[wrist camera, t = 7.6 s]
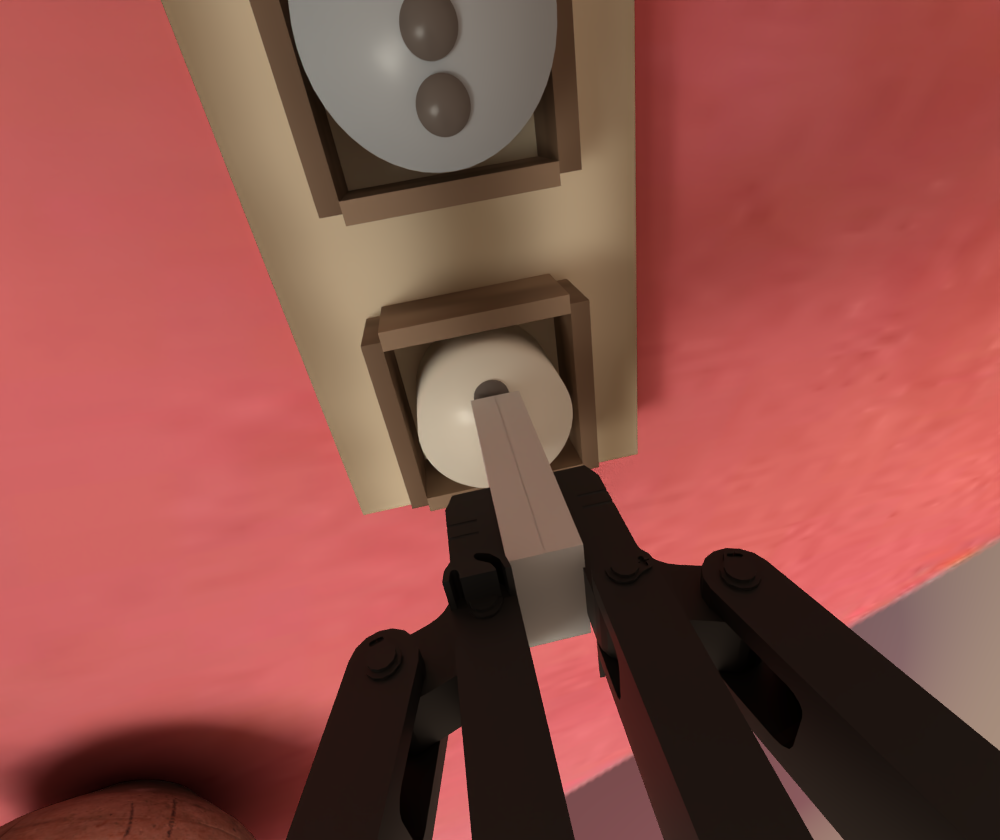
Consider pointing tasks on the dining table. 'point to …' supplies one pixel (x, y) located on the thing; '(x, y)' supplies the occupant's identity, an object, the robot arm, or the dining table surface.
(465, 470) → the button two
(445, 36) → the button three
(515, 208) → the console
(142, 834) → the cooking pot
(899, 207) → the dining table surface
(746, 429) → the dining table surface
